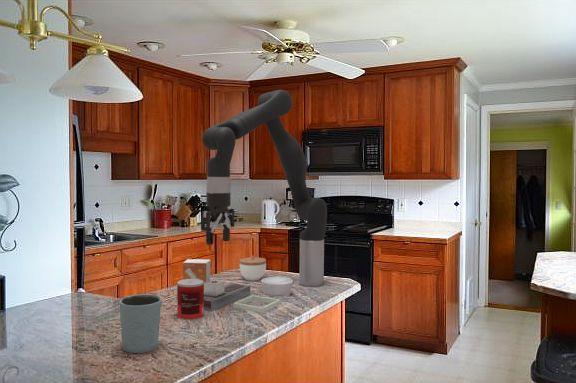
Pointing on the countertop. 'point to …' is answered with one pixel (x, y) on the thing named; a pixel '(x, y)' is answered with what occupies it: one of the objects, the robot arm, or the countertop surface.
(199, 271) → the small box
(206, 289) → the cube with dark knob
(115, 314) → the countertop surface
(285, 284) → the ramekin
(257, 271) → the lidded jar
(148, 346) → the grey-green cup
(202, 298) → the canned food
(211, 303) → the grey compartment tray
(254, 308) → the parts tray
